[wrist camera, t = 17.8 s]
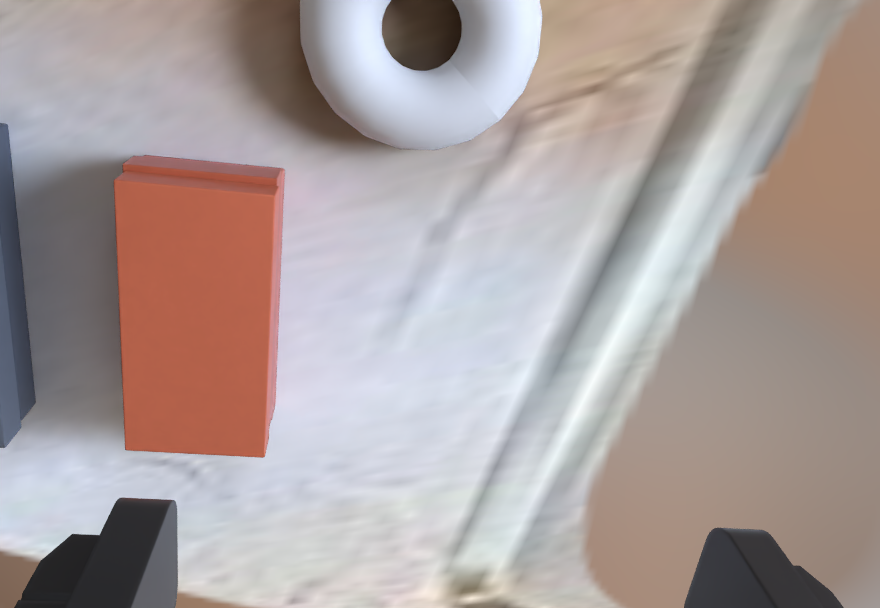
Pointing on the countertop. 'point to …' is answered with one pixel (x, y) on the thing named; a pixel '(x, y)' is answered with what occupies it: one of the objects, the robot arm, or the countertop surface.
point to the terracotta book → (196, 312)
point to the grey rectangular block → (12, 310)
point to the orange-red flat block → (227, 174)
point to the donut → (420, 92)
